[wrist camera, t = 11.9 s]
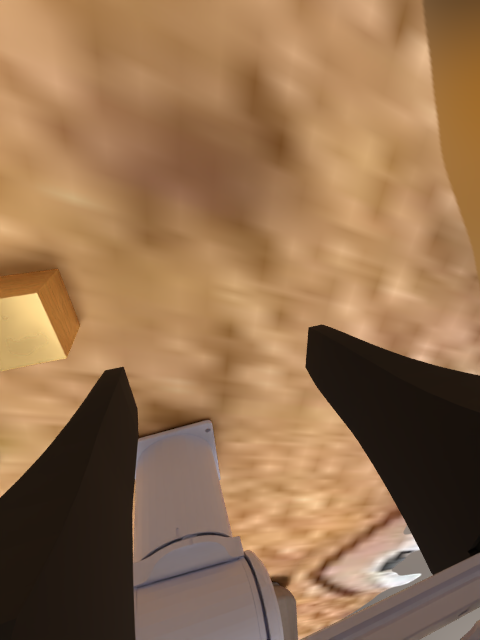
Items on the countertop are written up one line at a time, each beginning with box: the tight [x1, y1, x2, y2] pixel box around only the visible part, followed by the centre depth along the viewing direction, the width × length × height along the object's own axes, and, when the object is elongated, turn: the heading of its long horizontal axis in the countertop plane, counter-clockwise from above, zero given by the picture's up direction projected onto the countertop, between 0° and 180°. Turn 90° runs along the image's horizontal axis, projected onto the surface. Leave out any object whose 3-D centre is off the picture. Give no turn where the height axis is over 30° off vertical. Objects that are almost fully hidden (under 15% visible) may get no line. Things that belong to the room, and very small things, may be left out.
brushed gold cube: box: [0, 269, 80, 371], centre depth 16 cm, size 4×4×4 cm
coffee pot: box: [272, 582, 298, 640], centre depth 44 cm, size 21×12×15 cm, turn 129°
